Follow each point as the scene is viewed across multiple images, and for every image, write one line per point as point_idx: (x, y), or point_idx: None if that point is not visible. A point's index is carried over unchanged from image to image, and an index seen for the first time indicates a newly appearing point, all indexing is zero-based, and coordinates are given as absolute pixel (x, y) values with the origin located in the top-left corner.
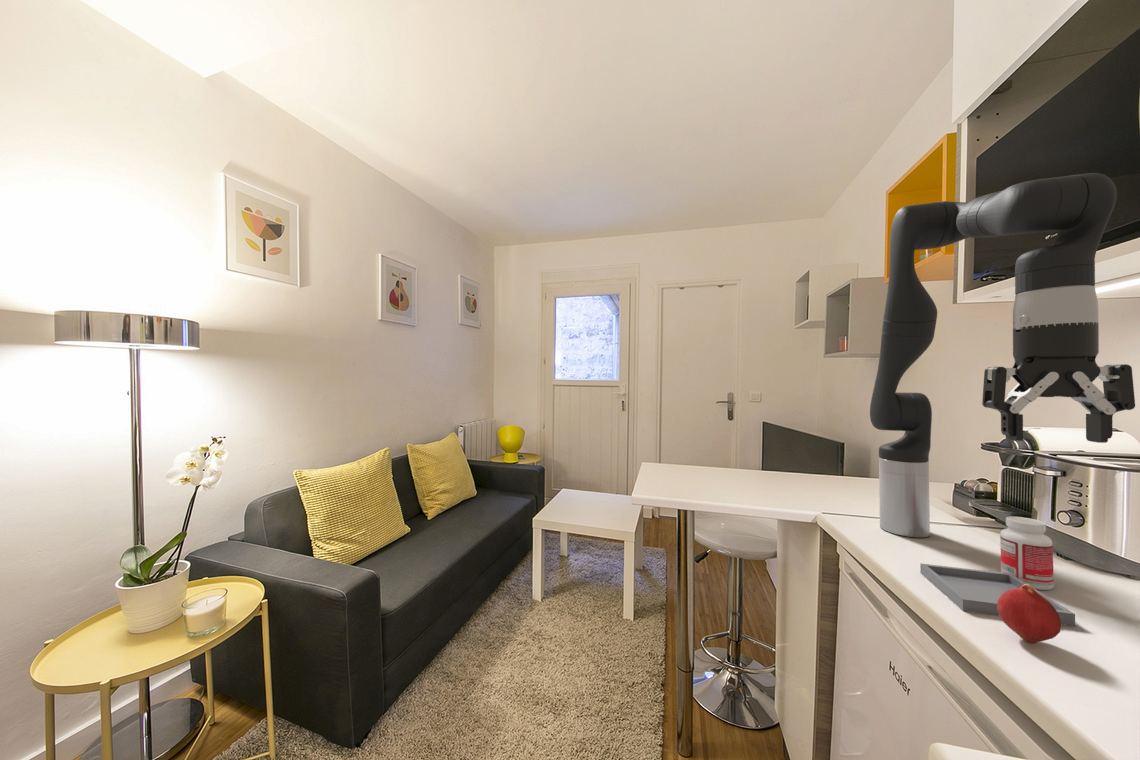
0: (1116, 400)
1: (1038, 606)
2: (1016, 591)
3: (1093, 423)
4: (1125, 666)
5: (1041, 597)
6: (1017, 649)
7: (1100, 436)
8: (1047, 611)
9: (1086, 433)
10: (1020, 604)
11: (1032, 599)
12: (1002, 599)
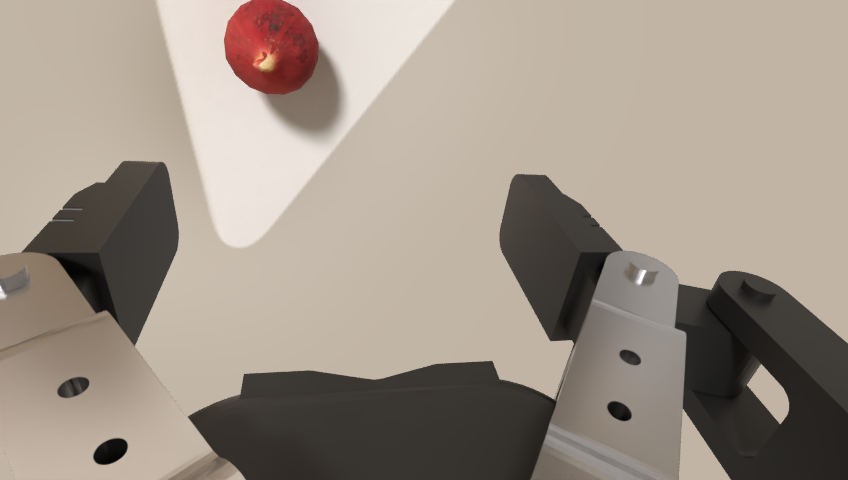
0: (734, 366)
1: (269, 88)
2: (247, 56)
3: (540, 264)
4: (384, 79)
5: (285, 73)
6: None
7: (509, 257)
8: (283, 90)
9: (527, 189)
10: (244, 77)
11: (264, 80)
12: (226, 44)
